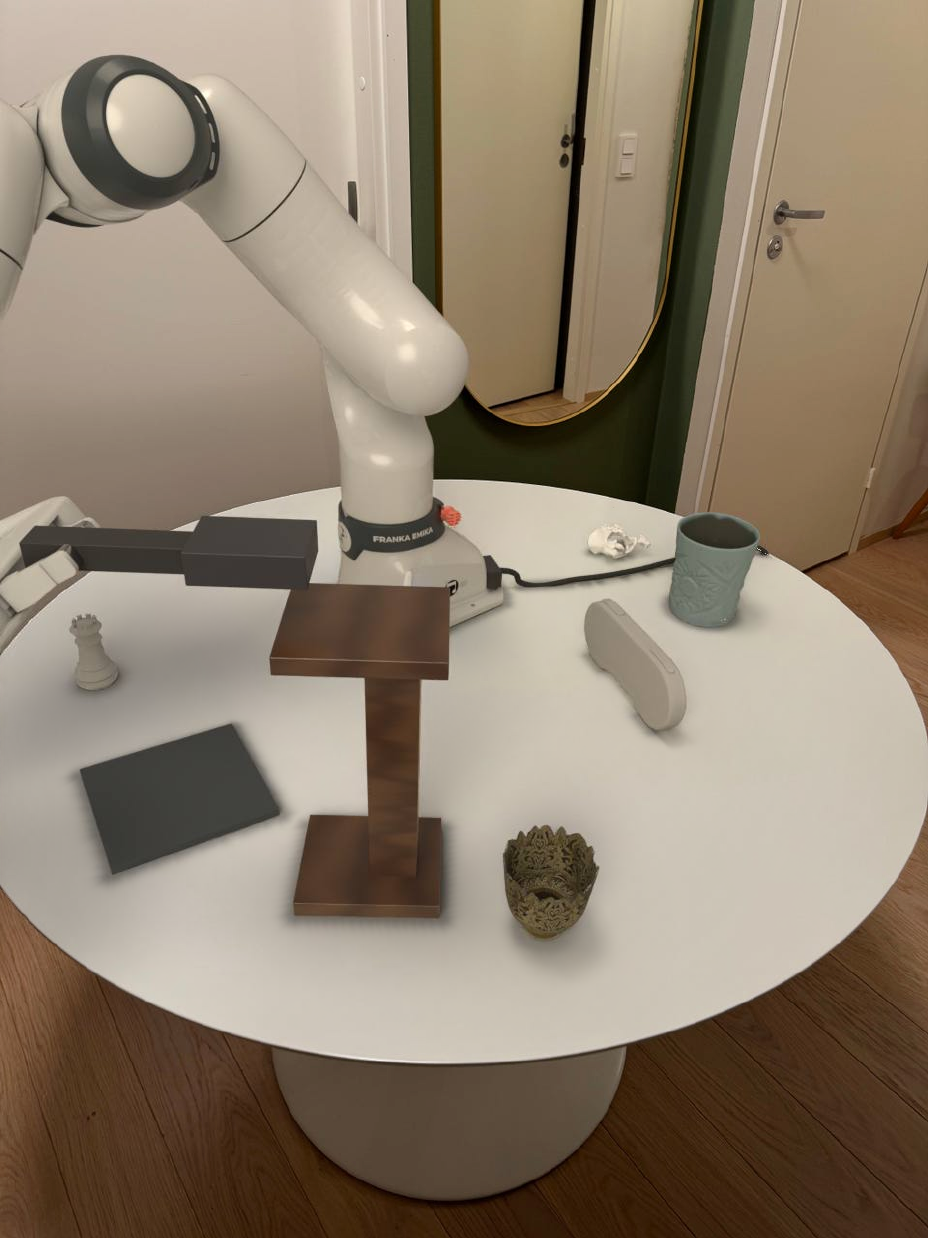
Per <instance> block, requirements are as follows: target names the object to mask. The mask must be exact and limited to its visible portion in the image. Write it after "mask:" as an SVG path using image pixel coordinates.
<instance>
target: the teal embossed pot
mask: <svg viewBox="0 0 928 1238" xmlns="http://www.w3.org/2000/svg"><path fill="white" fill-rule="evenodd" d="M760 540H761V533H760V531H759V530H758V529H757V528H756V527H755V526H754V525H753V524H751V522H749V521H746V520H745V519H742V518H739V517H737V516H733V515H730V514H726V513H721V512H711V511H702V512H694V513H690V514H688V515H686V516H683V517H682V518H680V519H679V521H678V522H677V527H676V535H675V550H674V557H675V558H676V560H675V562H674V563H673V566H672V573H671V582H670V585H669V594H668V595H669V596H668V603H667V604H668V608H669V611H670V613H671V614H672V615H673V616H674V617H676V618H677V619H678V620H680V621H682V622H683V623H686V624H689V625H692V626H696V627H700V628H719V627H724V626H725V625H728V624H729V623H731V622H732V620H733V619H734V616H735V614H736V610H737V609H738V606H739V603H740V599H741V592H742V589H743V588H744V585H745V581H746V578H747V575H748V573H749V571H750V569H751V566H752V563H753V561H754V557H755V555H756V552H757V550H756V549H757V546H758V545H759V543H760ZM734 613H735V614H734ZM724 619H726V620H724ZM721 620H722V621H721Z"/></svg>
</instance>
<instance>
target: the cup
mask: <svg viewBox="0 0 928 1238" xmlns="http://www.w3.org/2000/svg"><path fill="white" fill-rule="evenodd" d="M595 853H596V852H595V849H594V847H593V845H589V846H588V844H587V841H586V839H585V838H584V836H582V834H581V833H580V832H579V833H578V832H575V833H571V834H567V830H566V828H565V827H563V826H562V825H561V826H559V827H558V829H557V830H556V831H555V832H554V830H553V829H552V827H551V825H548V824H544V825H541V826H540V827H538V825H537V824H535V825H534V826H533V827H532V828H531V829H530V830H529V831H527V832H526V834H525V833H524V832H523V831H522V830H519V831H518V833H517V837H516V838H515V839H514V838H511V839H508V840H507V842H506V844H505V847H504V852H503V853H502V863H503V864H502V865H503V881H504V891H505V898H506V902H507V905H508V909H509V911H510V913H511V915H512V916H513V917H514V919H515V920H516V921H517V922H518V924H520V925H521V927H522V928H523V930H524V931H525V933H526V934H527V935H528V936H530V937H531V938H533V939H535V940H538V941H551V940H553V939H555V938H557V937H558V936H559V935H560V934H561V933H563V932H566V931H568V930H569V929H571V928H572V927H573V926H574V925H575V924H576V923H577V922H578V921H579V920H580V918H581V917H582V915H583V914H584V911H585V910H586V908H587V905H588V903H589V900H590V898H591V894H592V892H593V889H594V885H595V884H596V880H597V877H598V875H599V872H600V865H597V864H596V861H595V860H594V858H595V857H594V856H595Z"/></svg>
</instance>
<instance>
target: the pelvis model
mask: <svg viewBox="0 0 928 1238" xmlns="http://www.w3.org/2000/svg"><path fill="white" fill-rule="evenodd" d="M613 536H618V537H620V538H621V539H622V540H623V544H622V543H618V540H617V539H614V540H609V539H611V537H613ZM586 545H587V548H588V549H589V551H590V552H591V553H592V554H594V555H597V554H598V553H601V554H603V555H606V556H609V557H611V558H613V559H614V560H616V559H620V558H623V557H626V556H627V555H628V554H629V553H631V552H633V549H634V548H635V547H636V546H637V545H639V546H642V547H644V548H645V549H648V548H650V546H651V543H650V542H649V540H648V539H647V537H646V536H645V535H643V534H639V535H638V538H637V536H630V535H628V534H627V533H626V532H625V531H624V527H622V526H619V525H618V523H616V522H613V523H612V524H611V525H608V524H607V523H604V522H602V525H601V526H599V527H598V528H596V529H595V530H593V531H592V532H591V533H590V534H589V536H588V538H587V541H586ZM624 545H625V547H624ZM617 549H618V550H621V552H620V551H619V552H618V550H617Z"/></svg>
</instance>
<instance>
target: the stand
mask: <svg viewBox="0 0 928 1238" xmlns="http://www.w3.org/2000/svg"><path fill="white" fill-rule="evenodd" d="M281 615H282V616H281V619H280V622H279V624H278V628H277V631H276V634H275V638H274V641H273V644H272V647H271V650H270V654H269V656H268V662H269V673H270V675H271V676H275V677H278V676H279V677H310V678H311V677H313V678H314V677H315V678H343V679H345V678H346V679H347V678H350V679H353V678H354V679H364V713H365V714H364V717H365V718H364V719H365V751H366V753H365V754H366V756H365V757H366V791H367V815H351V814H349V815H344V814H310V815H309V817H308V818H309V819H308V823H307V828H306V833H305V838H304V843H303V849H302V854H301V859H300V865H299V869H298V875H297V880H296V885H295V891H294V895H293V900H292V910H293V916H311V917H312V916H313V917H314V916H318V917H320V916H321V917H357V918H359V917H363V918H364V917H365V918H407V919H408V918H412V919H413V918H414V919H415V918H416V919H440V910H441V908H440V907H441V869H442V867H441V866H442V865H441V863H442V817H430V816H428V817H426V816H420V781H421V780H420V778H421V776H420V775H421V774H420V773H421V727H422V726H421V725H422V724H421V722H422V681H449V678H450V638H451V637H450V635H451V634H450V633H451V632H450V631H451V630H450V628H451V627H450V588H449V587H421V586H390V585H358V584H337V583H327V582H326V583H323V582H319V583H318V582H309V586H308V589H307V590H289V593H288V595H287V599H286V603H285V606H284V609H283V612H282V614H281Z"/></svg>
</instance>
